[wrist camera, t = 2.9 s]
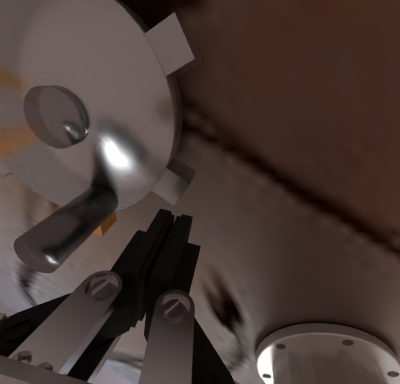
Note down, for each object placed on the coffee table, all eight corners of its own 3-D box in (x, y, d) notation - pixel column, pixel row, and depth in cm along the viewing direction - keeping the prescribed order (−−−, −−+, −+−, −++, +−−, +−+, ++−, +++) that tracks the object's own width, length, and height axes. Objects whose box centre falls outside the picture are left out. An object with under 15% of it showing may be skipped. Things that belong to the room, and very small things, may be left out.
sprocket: (263, 87, 11) (283, 99, 5) (138, 246, 18) (82, 334, 12) (-15, -147, 9) (-536, -596, 3) (-39, 129, 16) (-219, 162, 10)
